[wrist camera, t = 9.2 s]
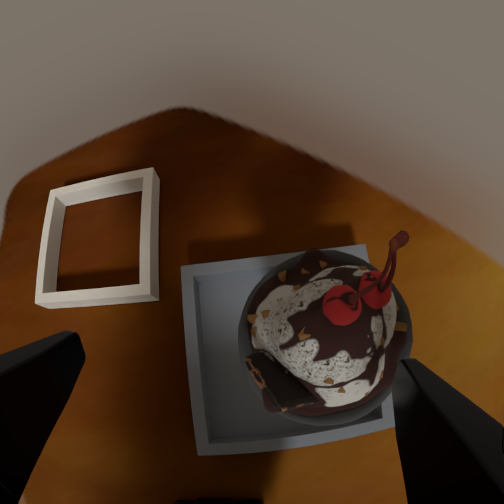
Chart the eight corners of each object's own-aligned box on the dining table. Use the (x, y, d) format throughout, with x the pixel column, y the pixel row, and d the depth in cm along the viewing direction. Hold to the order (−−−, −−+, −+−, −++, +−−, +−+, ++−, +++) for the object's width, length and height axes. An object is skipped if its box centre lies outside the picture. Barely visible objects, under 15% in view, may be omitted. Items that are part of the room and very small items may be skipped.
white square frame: (159, 300, 23) (150, 294, 21) (48, 308, 23) (34, 303, 21) (159, 180, 27) (153, 167, 25) (60, 200, 27) (50, 190, 25)
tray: (382, 421, 19) (395, 426, 17) (204, 446, 19) (197, 455, 17) (355, 256, 23) (364, 243, 21) (189, 276, 23) (180, 265, 21)
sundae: (342, 297, 22) (451, 176, 8) (352, 392, 19) (497, 418, 5) (248, 305, 22) (214, 185, 8) (254, 403, 19) (228, 477, 5)
